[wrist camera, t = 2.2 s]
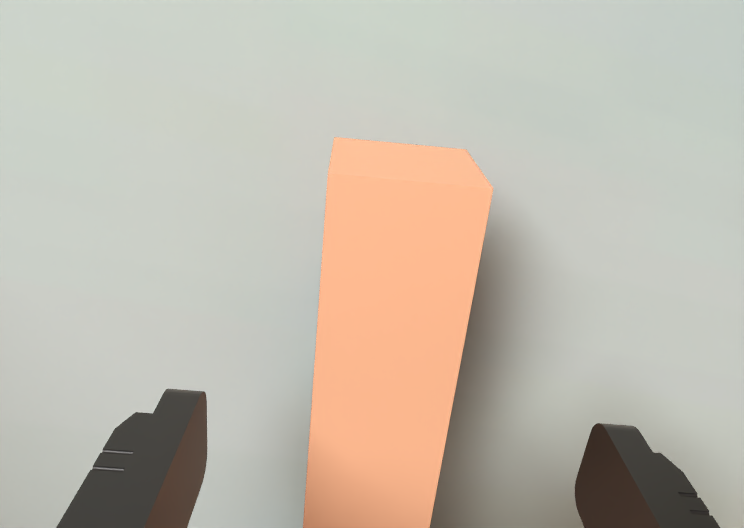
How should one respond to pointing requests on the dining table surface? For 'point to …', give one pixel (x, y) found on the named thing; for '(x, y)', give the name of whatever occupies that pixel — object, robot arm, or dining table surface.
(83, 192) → the dining table surface
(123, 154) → the dining table surface
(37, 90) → the dining table surface
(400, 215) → the dowel
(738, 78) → the dining table surface
